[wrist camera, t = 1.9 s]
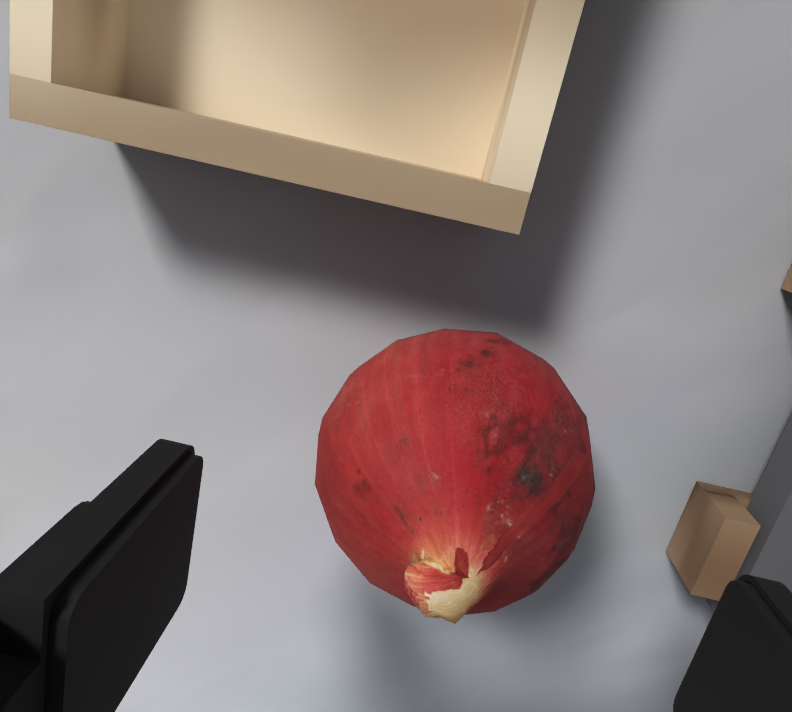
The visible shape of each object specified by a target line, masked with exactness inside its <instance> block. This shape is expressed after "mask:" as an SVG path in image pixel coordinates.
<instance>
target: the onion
mask: <svg viewBox="0 0 792 712" xmlns="http://www.w3.org/2000/svg"><path fill="white" fill-rule="evenodd" d="M315 486H316V488H317V491H318V494H319V497H320V500H321V503H322V505H323V508H324V511H325V514H326V517H327V520H328V522H329V525H330V528H331V531H332V534H333V536H334V539H335V542H336V543H337V544H338V545H339V546H340V548H341V549H342V550H343V551H344V552H345V554H346V555H347V556H348V557H349V558H350V560H351V561H352V562H353V563H354V564H355V566H356V567H357V568H358V569H359V570H360V572H361V573H362V574H363V575H364V576H365V578H366V579H367V580H368V581H369V582H370V583H371V584H373V585H375V586H377V587H378V588H380V589H382V590H384V591H386V592H388V593H390V594H391V595H393V596H395V597H397V598H399V599H401V600H403V601H405V602H406V603H408V604H410V605H412V606H415V607H417V608H418V609H419V610H420V611H421V612H422V613H423V615H424V616H425V617H436V618H442V619H445V620H447V621H450V622H453V623H456V622H457V621H458V620H459V619H460V618H461V617H463V616H464V615H466V614H475V613H483V612H492V611H496V610H498V609H500V608H502V607H505V606H507V605H509V604H511V603H513V602H515V601H518V600H520V599H522V598H524V597H526V596H528V595H530V594H532V593H533V592H535V591H536V590H538V589H539V588H540V587H541V586H542V585H543V584H544V583H545V582H546V581H547V580H548V579H549V578H550V577H551V576H552V575H553V574H554V573H555V572H556V570H557V569H558V568H559V567H560V566H561V565H562V564H563V563H564V562H565V561H566V560H567V559H568V557H569V556H570V554H571V553H572V551H573V550H574V548H575V546H576V543H577V541H578V538H579V536H580V533H581V531H582V528H583V526H584V523H585V521H586V518H587V516H588V513H589V511H590V508H591V506H592V501H593V496H594V491H595V482H594V473H593V464H592V455H591V446H590V437H589V430H588V424H587V418H586V416H585V414H584V413H583V411H582V410H581V408H580V406H579V405H578V403H577V402H576V400H575V399H574V397H573V396H572V394H571V393H570V391H569V390H568V388H567V387H566V385H565V384H564V382H563V381H562V379H561V378H560V376H559V375H558V373H557V372H556V370H555V369H554V368H553V367H552V366H551V365H550V364H548V363H547V362H546V361H545V360H544V359H542V358H540V357H538V356H537V355H535V354H533V353H531V352H530V351H528V350H526V349H524V348H522V347H521V346H519V345H517V344H515V343H514V342H512V341H510V340H508V339H507V338H505V337H503V336H501V335H500V334H498V333H492V332H480V331H467V330H455V329H442V330H438V331H433V332H429V333H425V334H421V335H417V336H413V337H409V338H405V339H401V340H397V341H395V342H394V343H392V344H391V345H389V346H388V347H387V348H385V349H384V350H383V351H381V352H380V353H378V354H377V355H375V356H374V357H372V358H371V359H370V360H368V361H367V362H365V363H364V364H362V365H361V366H359V367H358V368H357V369H356V370H355V371H354V372H353V373H352V374H351V375H349V377H348V379H347V380H346V382H345V383H344V385H343V387H342V388H341V390H340V391H339V393H338V394H337V396H336V398H335V399H334V401H333V402H332V404H331V405H330V407H329V409H328V410H327V412H326V413H325V415H324V416H323V418H322V422H321V427H320V431H319V436H318V450H317V464H316V477H315Z"/></svg>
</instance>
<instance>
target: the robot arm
mask: <svg viewBox="0 0 792 712" xmlns="http://www.w3.org/2000/svg"><path fill="white" fill-rule="evenodd" d="M202 469H203V458H202V457H201V456H197V455H195V452H194V447H193V446H191V445H186V444H182V443H178V442H174V441H169V440H165V439H159V440H157V441H156V442H155V443H154V444H153V445H152V446H151V447H150V448H149V449H148V450H146V451H145V452H144V453H143V454H142V455H141V456H140V457H139V458H138V459H137V460H136V461H135V462H133V463H132V464H131V465H130V466H129V467H128V468H127V469H126V470H125V471H124V472H123V473H122V474H120V475H119V476H118V477H117V478H116V479H115V480H114V481H113V482H112V483H111V484H110V485H109V486H107V487H106V488H105V489H104V490H103V491H102V492H101V493H100V494H99V495H98V496H97V497H96V498H95V499H93V500H92V501H91V502H89V501H86V502H81V503H80V504H78V505H77V506H75V507H74V508H73V509H72V510H71V511H70V512H68V513H67V514H66V515H65V516H64V517H63V518H62V519H61V520H60V521H58V522H57V523H56V524H55V525H54V526H53V527H52V528H51V529H50V530H48V531H47V532H46V533H45V534H44V535H43V536H42V537H41V538H39V539H38V540H37V541H36V542H35V543H34V544H33V545H32V546H31V547H29V548H28V549H27V550H26V551H25V552H24V553H23V554H22V555H21V556H19V557H18V558H17V559H16V560H15V561H14V562H13V563H12V564H11V565H9V566H8V567H7V568H6V569H5V570H4V571H3V572H2V573H0V712H115V710H116V709H117V707H118V705H119V704H120V702H121V701H122V699H123V697H124V696H125V694H126V692H127V691H128V689H129V687H130V686H131V684H132V683H133V681H134V679H135V678H136V676H137V674H138V673H139V671H140V669H141V668H142V666H143V665H144V663H145V661H146V660H147V658H148V656H149V655H150V653H151V651H152V650H153V648H154V646H155V645H156V643H157V642H158V640H159V638H160V637H161V635H162V633H163V632H164V630H165V628H166V627H167V625H168V624H169V622H170V620H171V619H172V617H173V615H174V614H175V612H176V610H177V609H178V607H179V605H180V603H181V601H182V599H183V596H184V593H185V590H186V585H187V579H188V572H189V564H190V557H191V550H192V542H193V535H194V528H195V520H196V513H197V506H198V498H199V491H200V483H201V476H202ZM673 712H792V593H791V592H790V590H789V589H788V588H787V587H786V586H785V585H784V584H783V583H781V582H778V581H774V580H769V579H765V578H761V577H756V576H752V575H748V574H745V575H742V576H740V577H739V578H738V579H737V580H733V581H730V582H729V583H728V584H727V586H726V587H725V589H724V592H723V594H722V596H721V598H720V600H719V603H718V605H717V607H716V609H715V611H714V613H713V616H712V618H711V620H710V622H709V624H708V627H707V629H706V631H705V633H704V635H703V637H702V640H701V642H700V644H699V646H698V648H697V651H696V653H695V655H694V657H693V659H692V661H691V664H690V666H689V668H688V670H687V672H686V675H685V677H684V679H683V681H682V683H681V685H680V688H679V690H678V692H677V694H676V696H675V700H674V705H673Z"/></svg>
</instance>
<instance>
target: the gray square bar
mask: <svg viewBox="0 0 792 712" xmlns="http://www.w3.org/2000/svg"><path fill="white" fill-rule="evenodd" d="M746 510H747V511H748V512H749V513H750V514H751V515H752V516H753V518H754V519H755V520H756V521H757V522H758V523H759V525H760V526H761V527H760V529H759V531H758V533H757V535H756V537H755V539H754V541H753V543H752V545H751V547H750V549H749V551H748V553H747V556H746V558H745V560H744V562H743V564H742V566H741V568H740V570H739V572H738V574H737V576H736V578H735V580H737V579H738V578H739V577H740V576H742V575H745V574H748V575H752V576H756V577H761V578H765V579H769V580H774V581H778V582H781V583H783V584H784V585H785V586H786V587H787V588H788V589H789V590H790V592H792V414H791V416H790V418H789V420H788V422H787V425H786V427H785V429H784V431H783V433H782V435H781V437H780V439H779V441H778V443H777V446H776V448H775V450H774V452H773V454H772V456H771V458H770V460H769V462H768V464H767V467H766V469H765V471H764V473H763V475H762V477H761V479H760V481H759V483H758V485H757V488H756V490H755V492H754V494H753V496H752V498H751V500H750V502H749V504H748V506H747V509H746ZM705 599H706V601H707V602H708V604H709V606H710V607H711V609H712V611H713V612H714V611H715V609H716V607H717V605H718V603H719V601H717V600H713V599H708V598H705Z"/></svg>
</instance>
